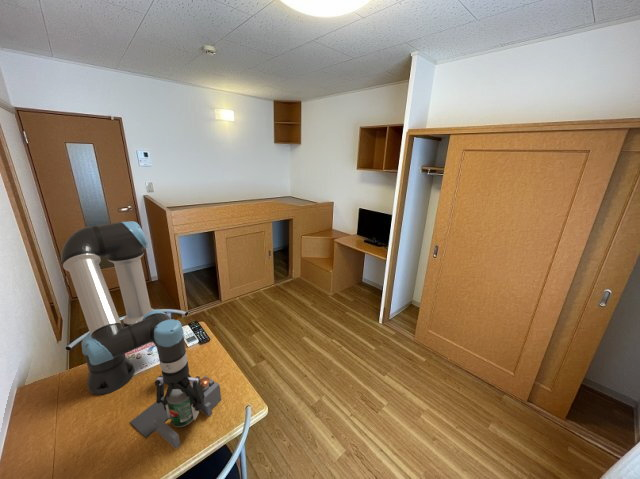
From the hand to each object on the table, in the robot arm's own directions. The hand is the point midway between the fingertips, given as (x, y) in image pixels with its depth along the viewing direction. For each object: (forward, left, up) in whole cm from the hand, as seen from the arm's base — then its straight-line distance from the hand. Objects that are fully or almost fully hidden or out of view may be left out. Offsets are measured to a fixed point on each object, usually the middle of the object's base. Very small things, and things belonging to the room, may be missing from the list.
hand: (183, 415), depth 91 cm
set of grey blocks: (0, +3, -3) cm, 4 cm away
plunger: (0, +9, 0) cm, 9 cm away
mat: (-11, -5, -3) cm, 12 cm away
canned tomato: (0, 0, -1) cm, 1 cm away
